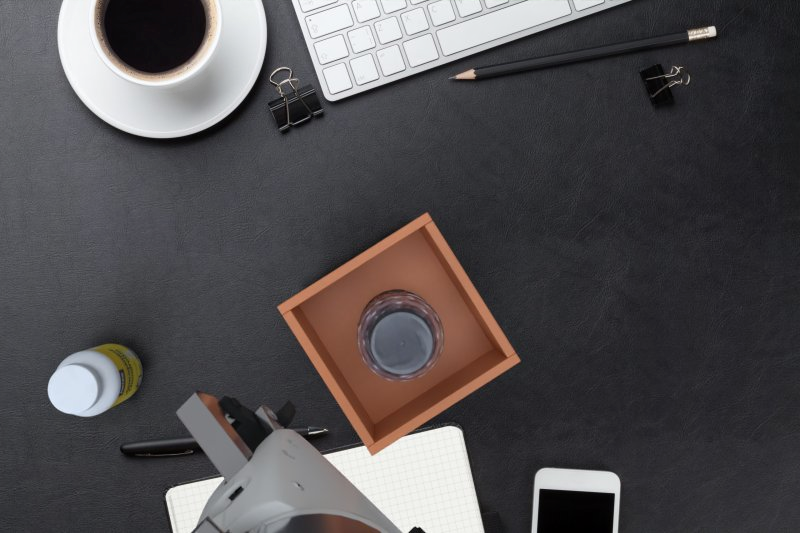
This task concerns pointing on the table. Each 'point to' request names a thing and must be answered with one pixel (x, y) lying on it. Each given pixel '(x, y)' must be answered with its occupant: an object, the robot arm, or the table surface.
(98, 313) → the table surface
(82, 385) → the pill bottle
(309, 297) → the bin
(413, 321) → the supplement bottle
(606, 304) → the table surface
